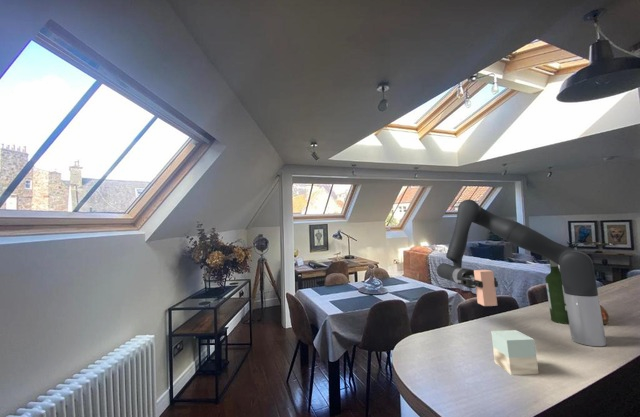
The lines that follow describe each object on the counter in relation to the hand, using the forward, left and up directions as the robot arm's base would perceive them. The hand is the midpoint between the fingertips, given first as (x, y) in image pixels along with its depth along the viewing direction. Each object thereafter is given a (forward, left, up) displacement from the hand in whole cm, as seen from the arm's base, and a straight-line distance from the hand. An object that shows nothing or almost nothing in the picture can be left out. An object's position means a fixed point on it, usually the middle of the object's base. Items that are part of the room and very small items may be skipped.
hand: (489, 284), depth 95 cm
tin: (-66, +4, -24) cm, 71 cm away
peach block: (-1, -2, -7) cm, 8 cm away
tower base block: (+5, +8, -24) cm, 26 cm away
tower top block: (+5, +8, -19) cm, 21 cm away
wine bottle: (-56, -3, -24) cm, 61 cm away
